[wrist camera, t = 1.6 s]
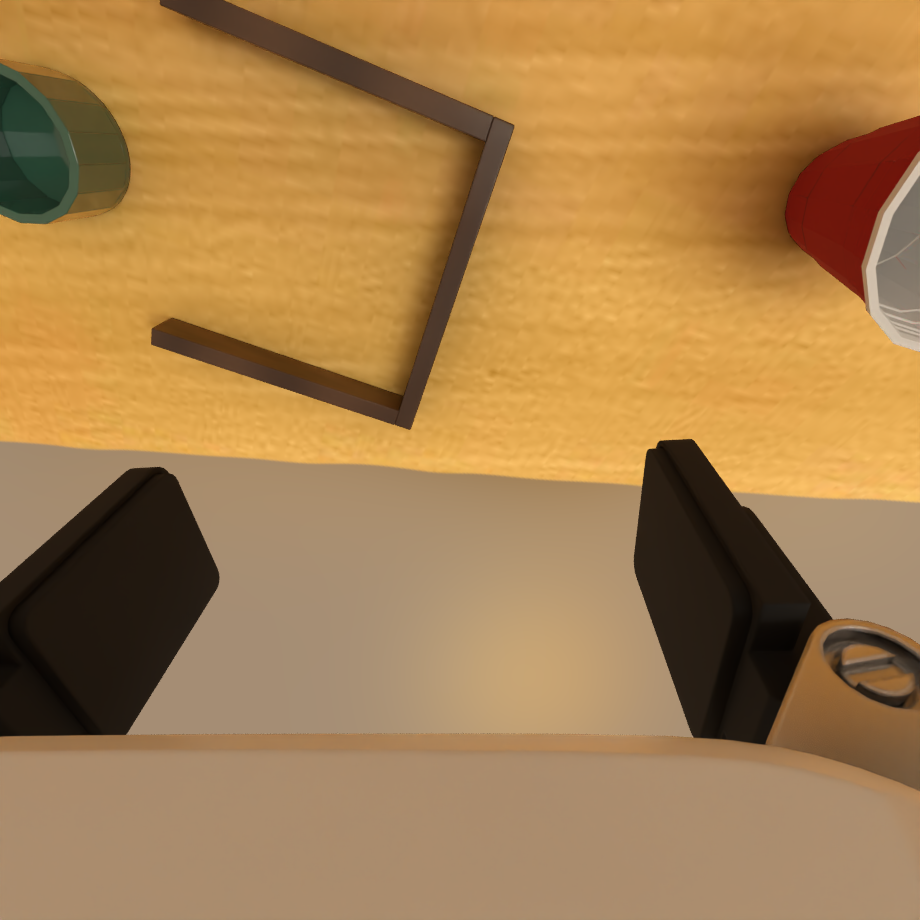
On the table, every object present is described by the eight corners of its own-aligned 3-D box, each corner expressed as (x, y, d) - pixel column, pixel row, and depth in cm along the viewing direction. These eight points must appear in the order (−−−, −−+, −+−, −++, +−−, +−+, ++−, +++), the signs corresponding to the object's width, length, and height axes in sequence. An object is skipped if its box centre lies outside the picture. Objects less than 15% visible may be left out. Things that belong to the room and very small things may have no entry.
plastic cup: (832, 324, 33) (984, 400, 23) (702, 243, 31) (807, 287, 21) (989, 153, 28) (1276, 155, 18) (848, 41, 26) (1082, -30, 16)
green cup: (-28, 102, 29) (-109, 94, 25) (69, 43, 28) (0, 25, 24) (64, 232, 33) (6, 244, 29) (155, 187, 31) (108, 193, 27)
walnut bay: (170, 333, 36) (150, 344, 34) (187, -13, 26) (160, -27, 24) (414, 415, 38) (410, 430, 36) (513, 127, 29) (514, 125, 26)
